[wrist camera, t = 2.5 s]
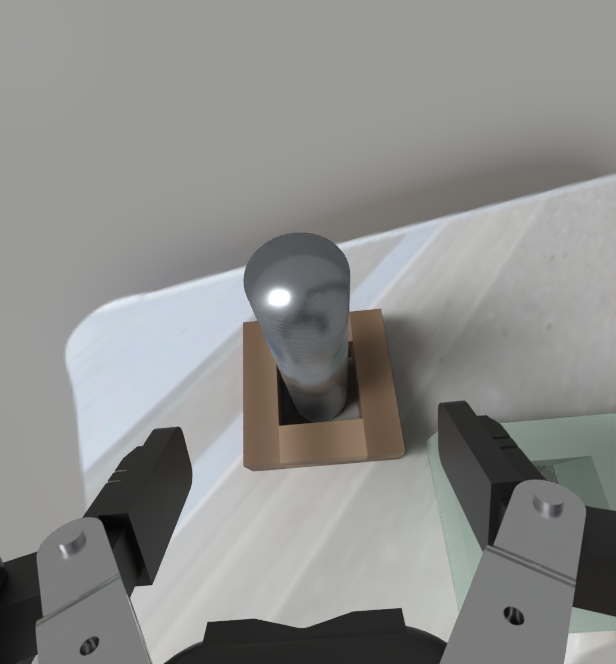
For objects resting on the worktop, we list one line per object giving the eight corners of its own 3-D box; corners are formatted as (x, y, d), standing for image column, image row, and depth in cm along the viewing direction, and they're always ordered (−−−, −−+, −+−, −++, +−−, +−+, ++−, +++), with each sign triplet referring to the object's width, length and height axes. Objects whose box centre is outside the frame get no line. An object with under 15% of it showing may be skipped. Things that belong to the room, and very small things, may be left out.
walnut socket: (377, 326, 31) (380, 308, 29) (399, 459, 27) (405, 452, 24) (251, 339, 32) (243, 322, 29) (253, 471, 27) (243, 466, 25)
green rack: (574, 428, 27) (616, 412, 23) (637, 605, 23) (701, 624, 19) (426, 441, 27) (440, 428, 23) (459, 617, 23) (484, 638, 19)
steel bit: (343, 366, 30) (343, 227, 16) (349, 419, 28) (356, 317, 14) (291, 371, 30) (243, 238, 16) (294, 423, 29) (243, 328, 14)
